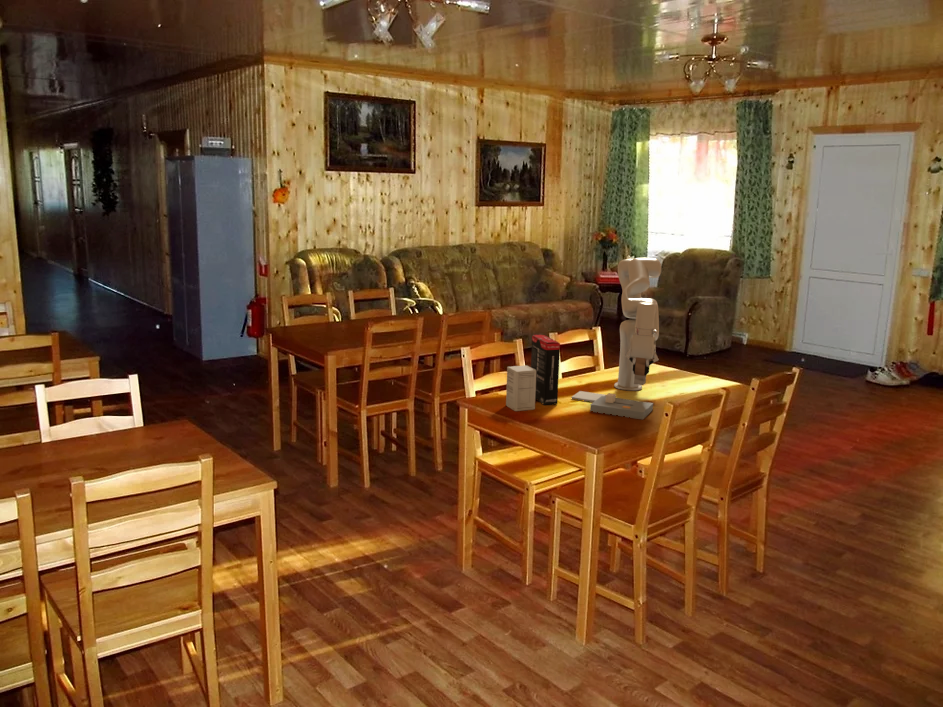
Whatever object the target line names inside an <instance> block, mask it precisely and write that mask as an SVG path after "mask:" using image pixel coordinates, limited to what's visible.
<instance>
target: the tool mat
mask: <svg viewBox="0 0 943 707" xmlns="http://www.w3.org/2000/svg"><path fill="white" fill-rule="evenodd" d="M606 395H607V394H602V393H595V392H589V391H582V390H579V391H578V392H576V393H575V394H573V395H572V396H571V397H570V399H571V398H572V399H571V400H573V399H578V400H577V401H579V400H584V401H583V402H586V401H590V402H589V403H593V402H594V401H596V400H597V399H598V398H600V397H601V396H606Z"/></svg>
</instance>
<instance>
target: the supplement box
mask: <svg viewBox="0 0 943 707" xmlns="http://www.w3.org/2000/svg"><path fill="white" fill-rule="evenodd" d="M535 392H536V370H535V369H533V368H531V366H529V365H527V364H526V365H513V366H507V367H506V398H505V399H506V400H505V406H507V407H508V408H509V409H511V410H512V411H514V412H520V411H521V412H522V411H533V410H535V409H536V399H535Z"/></svg>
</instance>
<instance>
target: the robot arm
mask: <svg viewBox="0 0 943 707" xmlns="http://www.w3.org/2000/svg"><path fill="white" fill-rule="evenodd" d="M661 273H662V263H661V261H660V260H659V259H658V258H655V257H654V258H653V257H635V258H626V259H625V258H624V259H622V260H620V261H619V262H618V265H617V276H618V280H619V284H620V285H621V289H622V294H621V309H622V310H621V311H622V313H623V316H624V317H625V318H628V319H626V320H623V321H622V322H621V323H620V325H619V339H620V341H619V342H620V345H619V346H620V347H619V348H620V351H619V361H618V362H619V363H618V364H619V365H618V377H617V382H615V383H614V388H616V389H618V390H622V391H633V392H634V391H641V390H642V388H643V385H638V384H634V376H635V364H636V357H638V358H646V366H645V374H644V375H645V376H646V377H647V375H648V374H649V373H650V366H651V365H653V363H656V362H658V361H659V358H658V355H657V352H656V350H657V348H656V347H657V346H656V343H657V342H656V341H657V340H658V339H659V336H660V321H659V320H660V319H659V314H660V313H659V305H658V301H657V300H656V299H654V298H649V297H648V298H647V297H642V293H644V292H646V291H647V290H648V289H649V287H650V284H651V281H650V279H656V278H659V277H660V275H661Z"/></svg>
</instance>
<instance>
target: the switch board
mask: <svg viewBox="0 0 943 707" xmlns="http://www.w3.org/2000/svg"><path fill="white" fill-rule="evenodd" d="M653 407H654V402H648V401H642V400H634V399H633V400H632V399H627V398H620V397H616V398H615V402H613V403H608V402H606V396H601V397H600V398H598V399H597V400H596V401H594V402H591V403H590V407H589V411H590V412H591V411H593V412H592V413H597V412H598V413H599V414H603V413H605V415H610V414H612V415H611V416H616V415H618V416H619V417H623V416H625V417H624V418H629V417H630V418H631V419H635V420H637V419H638V420H642V421H643V420H644V419H645V418H647V416H648V415H649V414H650V413H651V412H652V411H653V410H654V408H653Z"/></svg>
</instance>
